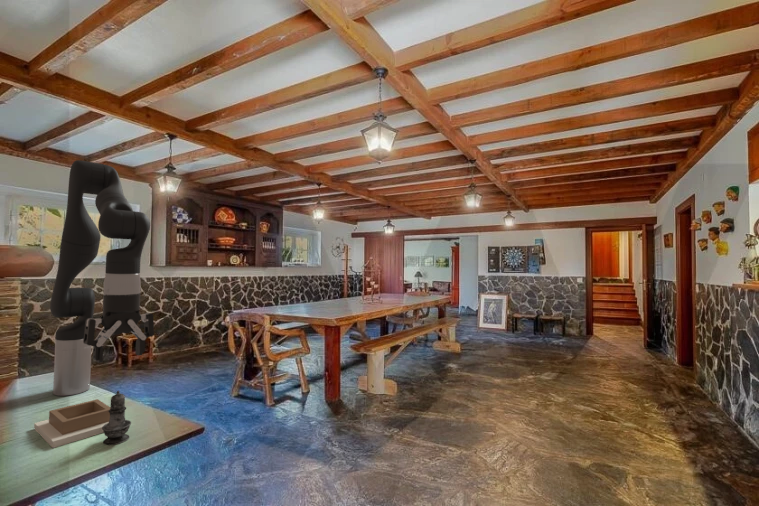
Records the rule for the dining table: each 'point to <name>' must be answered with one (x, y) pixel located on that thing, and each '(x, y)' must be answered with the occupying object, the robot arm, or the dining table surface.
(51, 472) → the dining table surface
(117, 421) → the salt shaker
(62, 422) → the shaker stand
